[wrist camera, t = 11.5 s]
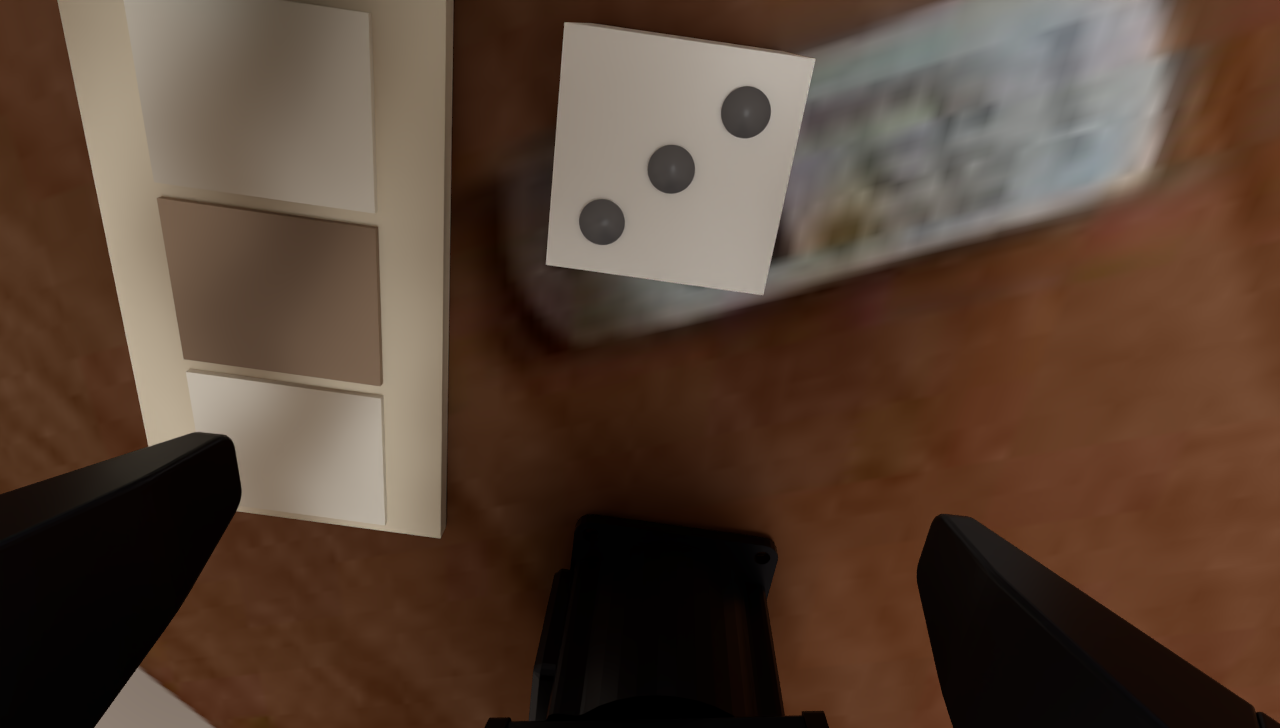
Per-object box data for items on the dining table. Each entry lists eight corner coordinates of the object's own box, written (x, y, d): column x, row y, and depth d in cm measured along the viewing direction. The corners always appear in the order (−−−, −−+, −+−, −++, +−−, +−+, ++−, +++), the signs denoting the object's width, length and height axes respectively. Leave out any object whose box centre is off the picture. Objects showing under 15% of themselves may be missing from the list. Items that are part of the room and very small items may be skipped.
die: (781, 50, 17) (816, 59, 12) (743, 236, 19) (763, 296, 14) (591, 23, 17) (564, 22, 12) (574, 212, 18) (545, 266, 14)
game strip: (457, -270, 14) (445, -285, 14) (446, 526, 23) (438, 542, 22) (12, -337, 14) (-24, -357, 13) (171, 489, 23) (155, 504, 22)
